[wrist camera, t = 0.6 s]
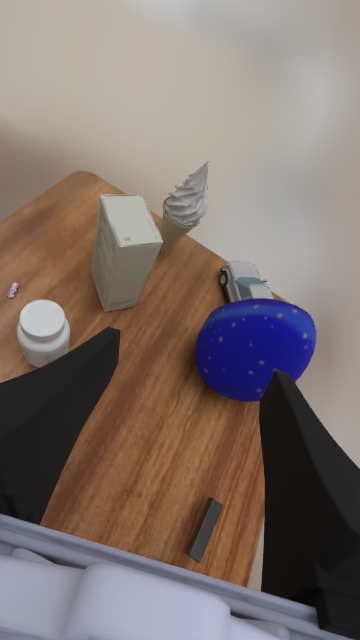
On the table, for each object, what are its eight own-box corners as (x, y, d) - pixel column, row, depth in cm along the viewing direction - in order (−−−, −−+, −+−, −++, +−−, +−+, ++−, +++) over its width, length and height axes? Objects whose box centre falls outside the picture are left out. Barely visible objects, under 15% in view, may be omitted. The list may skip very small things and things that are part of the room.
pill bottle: (74, 336, 32) (78, 303, 25) (60, 373, 29) (60, 348, 23) (33, 324, 30) (26, 287, 24) (15, 362, 28) (1, 332, 22)
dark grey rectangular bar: (195, 560, 25) (200, 563, 24) (184, 552, 25) (188, 555, 24) (218, 504, 28) (223, 505, 27) (208, 496, 27) (213, 497, 27)
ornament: (262, 360, 39) (358, 311, 27) (247, 423, 34) (355, 399, 22) (194, 320, 38) (261, 250, 26) (168, 380, 33) (234, 329, 21)
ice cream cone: (181, 267, 41) (234, 182, 29) (148, 265, 39) (189, 173, 27) (175, 240, 43) (222, 149, 31) (143, 237, 41) (179, 138, 29)
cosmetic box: (136, 307, 36) (166, 245, 26) (101, 313, 34) (119, 248, 24) (121, 266, 38) (144, 193, 28) (88, 269, 36) (99, 192, 26)
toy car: (244, 270, 46) (263, 251, 41) (269, 345, 41) (293, 334, 37) (213, 269, 43) (230, 249, 39) (236, 349, 39) (259, 337, 35)
